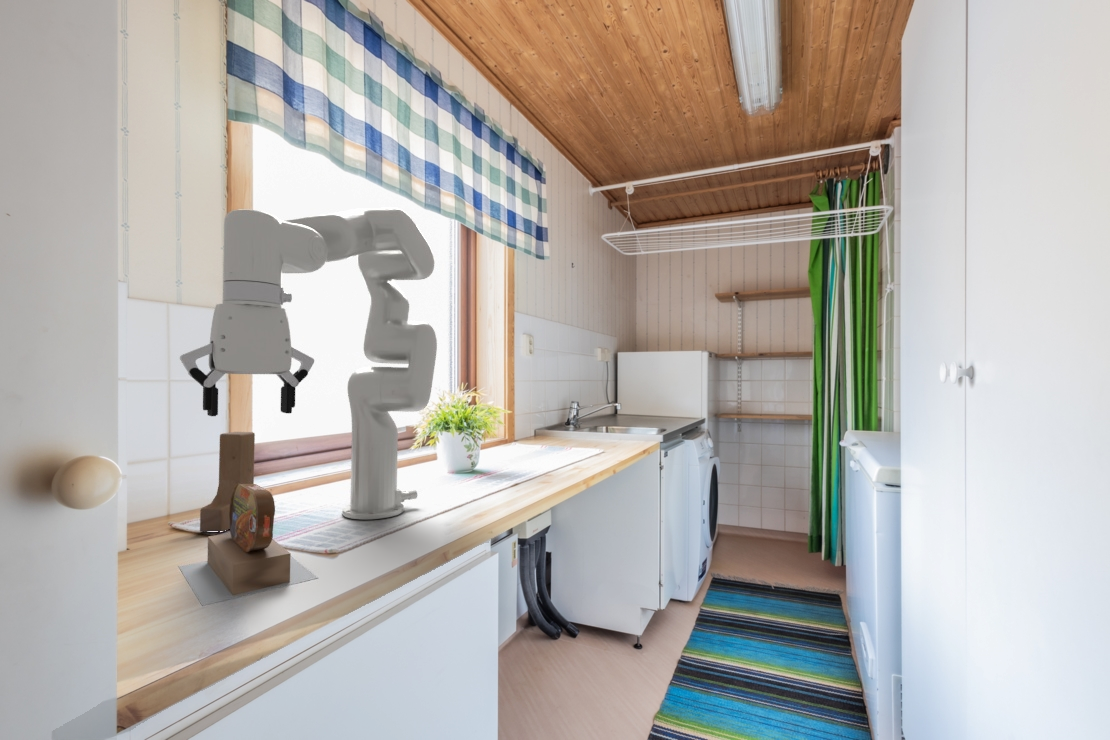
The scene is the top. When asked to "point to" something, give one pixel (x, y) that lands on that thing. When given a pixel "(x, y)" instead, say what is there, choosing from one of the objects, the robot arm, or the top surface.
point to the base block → (247, 564)
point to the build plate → (215, 591)
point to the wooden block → (229, 478)
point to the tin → (251, 517)
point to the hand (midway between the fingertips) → (250, 414)
